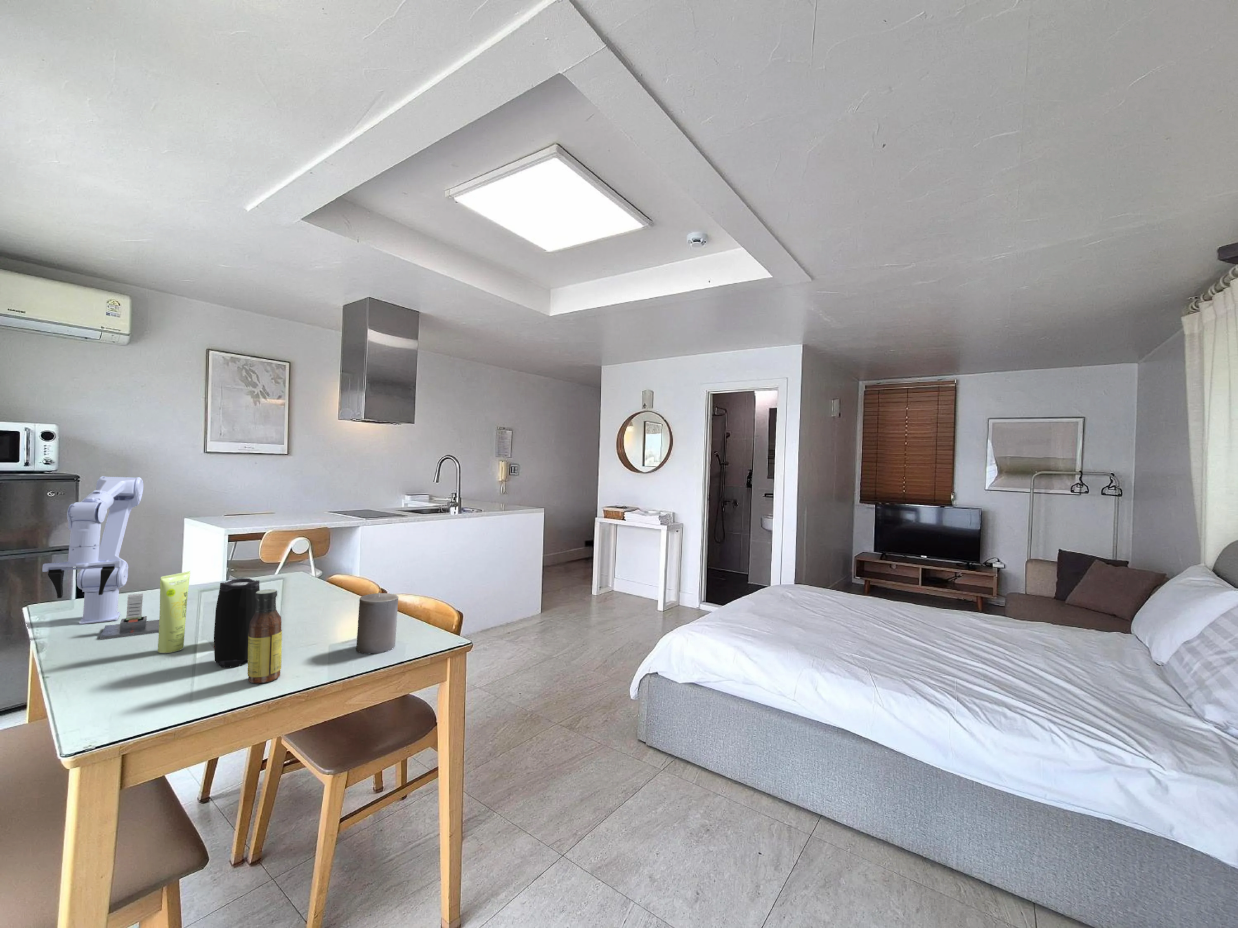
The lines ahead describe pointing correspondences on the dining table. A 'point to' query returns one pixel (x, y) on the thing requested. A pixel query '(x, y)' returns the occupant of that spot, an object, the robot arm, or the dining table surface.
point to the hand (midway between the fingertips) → (80, 595)
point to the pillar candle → (377, 623)
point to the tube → (173, 611)
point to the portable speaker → (234, 620)
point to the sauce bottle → (264, 639)
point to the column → (134, 606)
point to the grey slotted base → (130, 628)
